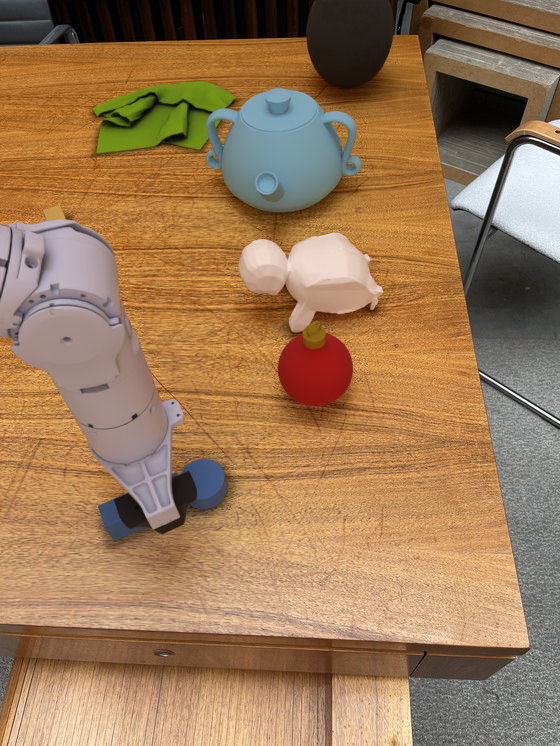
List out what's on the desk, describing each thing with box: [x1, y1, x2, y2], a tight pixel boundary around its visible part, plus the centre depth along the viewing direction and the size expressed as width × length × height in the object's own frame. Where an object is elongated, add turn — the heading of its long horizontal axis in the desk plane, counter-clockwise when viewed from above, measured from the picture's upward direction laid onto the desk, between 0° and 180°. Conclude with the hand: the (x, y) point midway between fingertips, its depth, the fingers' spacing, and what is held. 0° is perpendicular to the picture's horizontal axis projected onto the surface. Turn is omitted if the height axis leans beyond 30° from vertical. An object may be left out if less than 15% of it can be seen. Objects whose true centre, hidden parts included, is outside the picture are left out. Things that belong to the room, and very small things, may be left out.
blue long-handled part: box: [97, 458, 228, 542], centre depth 55 cm, size 11×4×3 cm, turn 115°
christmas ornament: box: [277, 320, 354, 407], centre depth 59 cm, size 7×7×10 cm
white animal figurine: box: [238, 232, 384, 333], centre depth 67 cm, size 9×8×15 cm
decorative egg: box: [305, 0, 395, 90], centre depth 91 cm, size 12×12×15 cm
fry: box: [42, 204, 67, 221], centre depth 78 cm, size 8×2×2 cm, turn 25°
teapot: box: [205, 87, 362, 213], centre depth 76 cm, size 20×20×13 cm
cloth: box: [92, 80, 237, 155], centre depth 93 cm, size 20×22×2 cm
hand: (156, 487), depth 53 cm, fingers open, 7 cm apart
